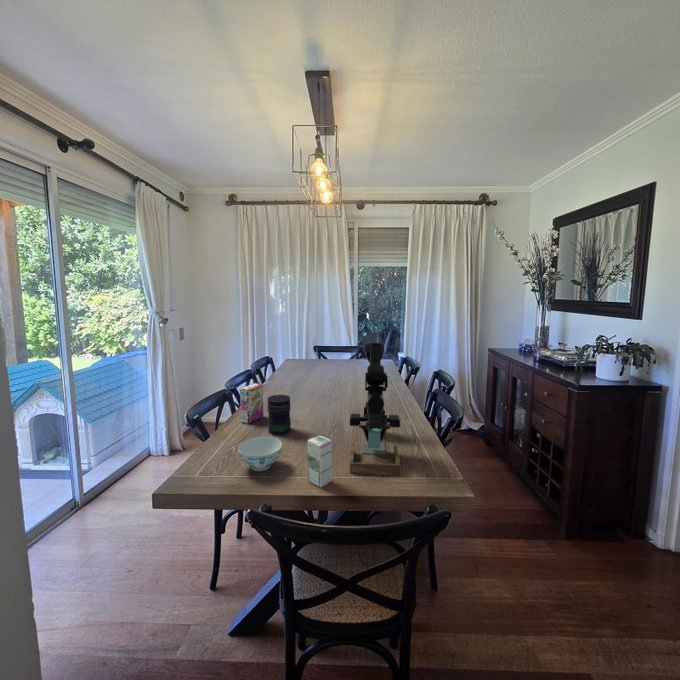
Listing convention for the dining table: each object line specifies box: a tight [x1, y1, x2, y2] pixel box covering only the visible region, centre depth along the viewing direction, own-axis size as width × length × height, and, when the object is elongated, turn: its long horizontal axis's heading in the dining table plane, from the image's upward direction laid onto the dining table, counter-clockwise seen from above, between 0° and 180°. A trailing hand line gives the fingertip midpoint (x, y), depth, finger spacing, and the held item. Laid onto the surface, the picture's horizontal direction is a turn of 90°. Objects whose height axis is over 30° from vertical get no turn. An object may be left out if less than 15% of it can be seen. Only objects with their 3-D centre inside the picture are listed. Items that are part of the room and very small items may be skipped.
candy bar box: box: [239, 382, 264, 425], centre depth 167 cm, size 11×5×16 cm, turn 154°
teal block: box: [367, 428, 381, 448], centre depth 135 cm, size 4×4×6 cm
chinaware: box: [237, 436, 283, 472], centre depth 124 cm, size 15×15×8 cm
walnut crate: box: [349, 443, 401, 476], centre depth 127 cm, size 15×17×4 cm
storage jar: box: [267, 394, 292, 436], centre depth 154 cm, size 10×10×15 cm
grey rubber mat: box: [361, 442, 387, 456], centre depth 138 cm, size 9×9×1 cm
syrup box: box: [307, 434, 333, 489], centre depth 114 cm, size 6×6×14 cm
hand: (374, 441), depth 135 cm, fingers closed on teal block, 4 cm apart
